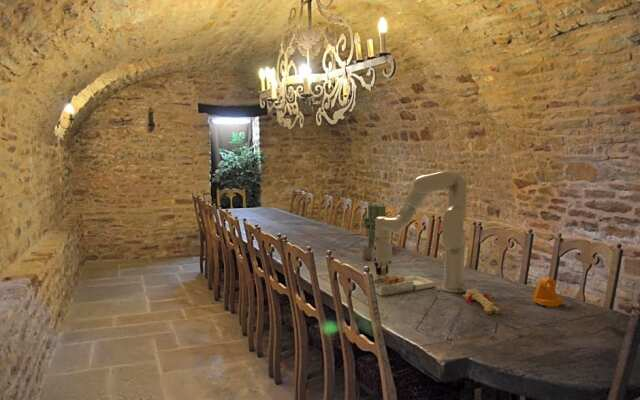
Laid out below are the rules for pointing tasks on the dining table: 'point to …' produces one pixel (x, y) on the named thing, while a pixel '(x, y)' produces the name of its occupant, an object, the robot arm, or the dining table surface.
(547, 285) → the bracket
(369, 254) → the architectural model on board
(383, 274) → the scraper
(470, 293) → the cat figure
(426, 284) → the tray
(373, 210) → the religious sculpture
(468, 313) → the dining table surface
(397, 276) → the chip
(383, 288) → the channel
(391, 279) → the chip
